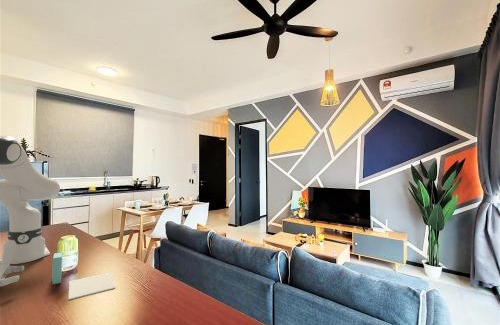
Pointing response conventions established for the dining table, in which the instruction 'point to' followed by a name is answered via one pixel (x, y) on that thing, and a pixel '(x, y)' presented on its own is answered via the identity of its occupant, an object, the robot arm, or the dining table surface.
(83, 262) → the dining table surface
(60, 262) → the slab
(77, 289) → the mat
